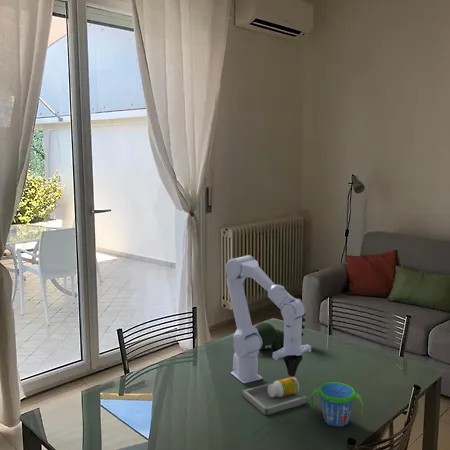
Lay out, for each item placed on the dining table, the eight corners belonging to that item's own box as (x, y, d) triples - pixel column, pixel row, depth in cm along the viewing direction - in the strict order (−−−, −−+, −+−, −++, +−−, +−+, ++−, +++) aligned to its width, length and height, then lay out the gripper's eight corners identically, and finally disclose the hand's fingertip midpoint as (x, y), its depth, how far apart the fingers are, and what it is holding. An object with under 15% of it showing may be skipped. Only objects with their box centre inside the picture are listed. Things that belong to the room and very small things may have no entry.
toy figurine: (295, 344, 218) (241, 345, 210) (300, 301, 216) (245, 301, 208) (305, 352, 210) (249, 354, 201) (310, 308, 207) (254, 308, 199)
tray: (242, 396, 169) (242, 390, 168) (281, 385, 176) (281, 380, 176) (265, 415, 157) (265, 409, 156) (306, 403, 164) (306, 397, 164)
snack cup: (306, 423, 152) (307, 392, 151) (315, 407, 162) (316, 377, 160) (358, 436, 146) (360, 403, 144) (364, 418, 155) (366, 387, 154)
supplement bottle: (301, 388, 167) (277, 394, 162) (295, 395, 170) (271, 402, 166) (294, 373, 170) (270, 379, 166) (288, 381, 174) (264, 387, 169)
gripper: (281, 344, 160) (280, 384, 162) (317, 336, 167) (316, 375, 169) (269, 337, 166) (268, 376, 168) (304, 329, 173) (303, 367, 175)
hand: (291, 375), depth 169 cm, fingers closed
